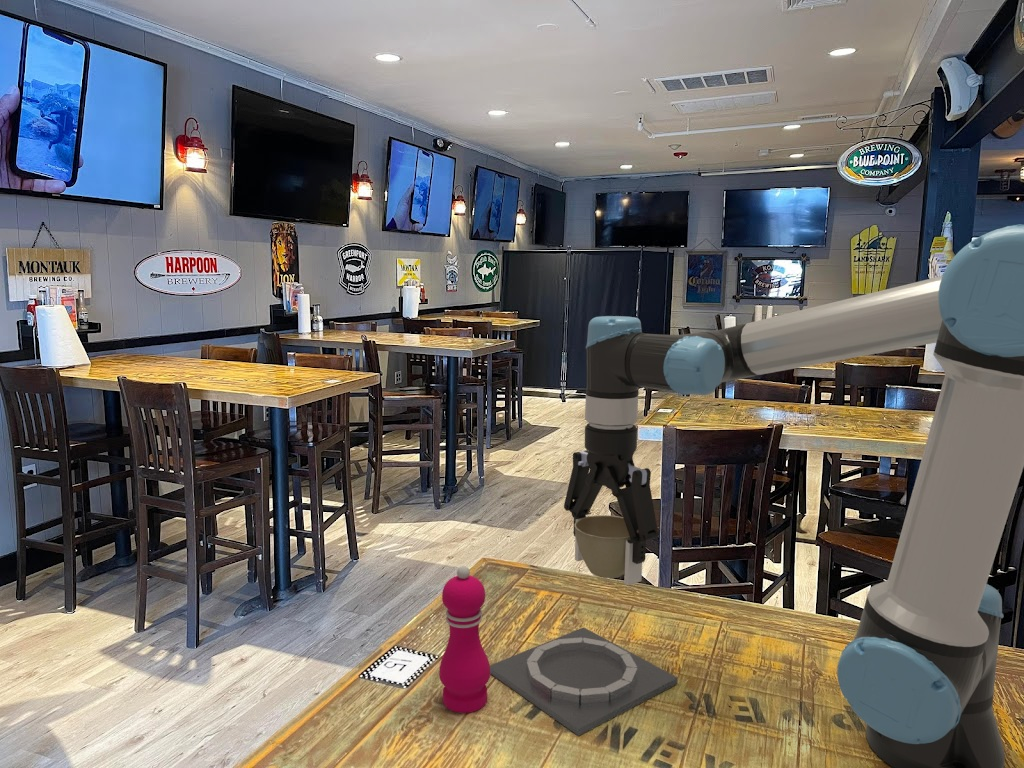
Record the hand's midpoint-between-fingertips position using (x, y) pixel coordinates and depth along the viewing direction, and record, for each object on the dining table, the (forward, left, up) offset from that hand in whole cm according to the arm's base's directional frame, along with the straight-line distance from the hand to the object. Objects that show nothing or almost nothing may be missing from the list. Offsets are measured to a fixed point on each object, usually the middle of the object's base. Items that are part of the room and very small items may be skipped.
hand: (607, 570), depth 109 cm
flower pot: (0, 0, 0) cm, 0 cm away
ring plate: (+1, +4, -16) cm, 17 cm away
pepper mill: (+7, +21, -17) cm, 28 cm away
